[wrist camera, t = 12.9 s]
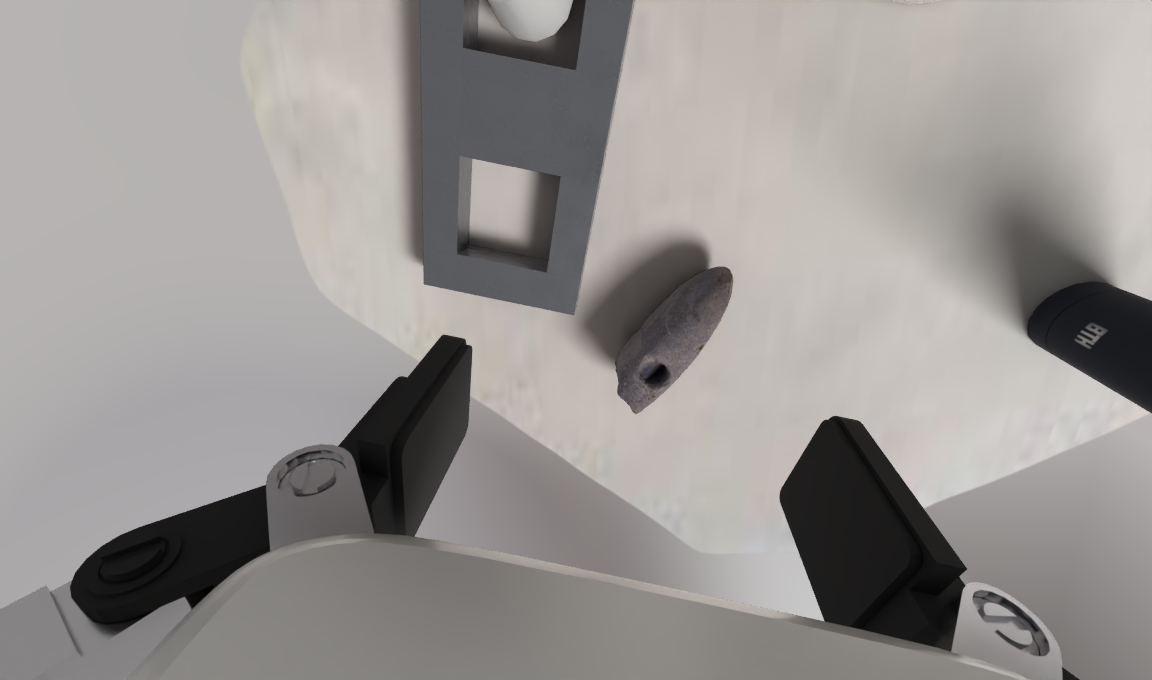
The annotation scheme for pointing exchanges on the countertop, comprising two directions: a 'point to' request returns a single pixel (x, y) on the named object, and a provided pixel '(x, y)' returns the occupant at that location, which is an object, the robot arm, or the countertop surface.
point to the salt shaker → (531, 17)
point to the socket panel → (514, 146)
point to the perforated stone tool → (672, 337)
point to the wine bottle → (1100, 336)
